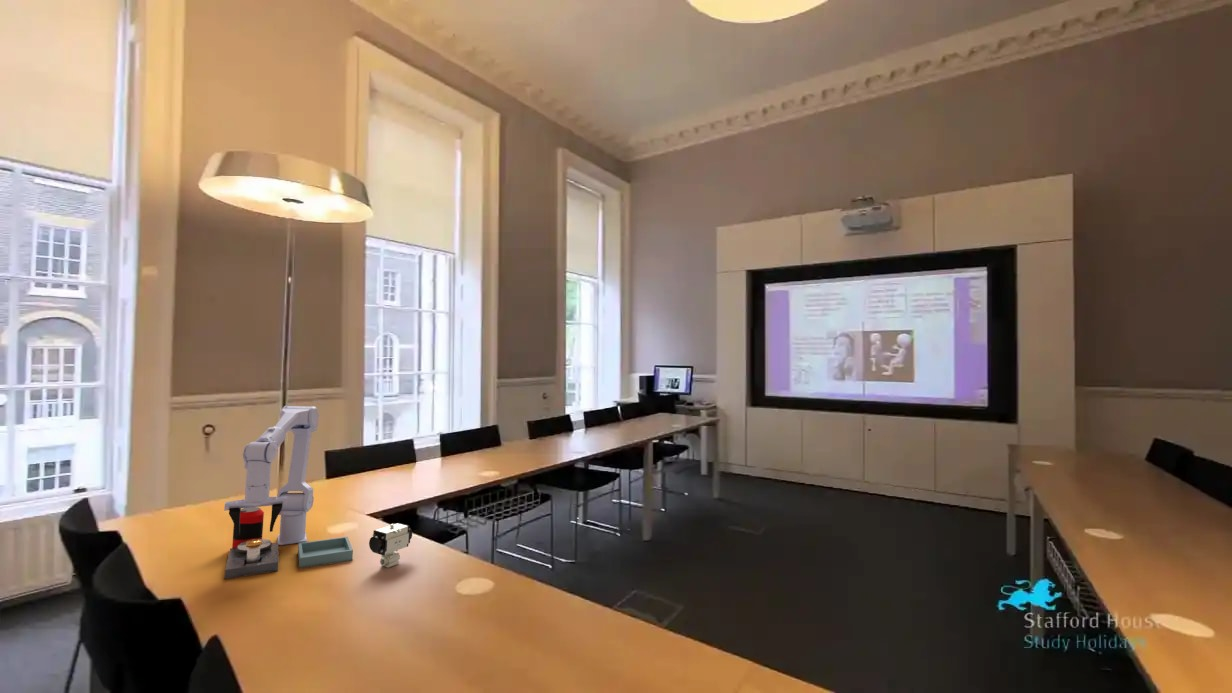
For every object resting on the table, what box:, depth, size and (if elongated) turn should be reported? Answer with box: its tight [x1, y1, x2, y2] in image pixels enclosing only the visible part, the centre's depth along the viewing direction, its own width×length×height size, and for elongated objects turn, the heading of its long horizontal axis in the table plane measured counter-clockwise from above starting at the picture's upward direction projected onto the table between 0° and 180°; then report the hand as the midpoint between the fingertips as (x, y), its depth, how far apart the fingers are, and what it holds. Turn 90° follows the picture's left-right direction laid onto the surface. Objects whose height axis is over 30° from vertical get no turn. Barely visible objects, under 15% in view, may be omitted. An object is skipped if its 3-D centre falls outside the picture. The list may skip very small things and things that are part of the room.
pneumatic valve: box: [368, 522, 413, 569], centre depth 153 cm, size 6×12×12 cm, turn 152°
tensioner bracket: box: [224, 538, 279, 580], centre depth 150 cm, size 18×12×6 cm, turn 33°
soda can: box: [231, 507, 265, 548], centre depth 161 cm, size 8×8×12 cm
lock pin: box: [246, 538, 263, 564], centre depth 146 cm, size 4×4×8 cm
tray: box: [297, 536, 354, 569], centre depth 157 cm, size 14×14×3 cm
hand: (254, 532), depth 146 cm, fingers open, 7 cm apart
